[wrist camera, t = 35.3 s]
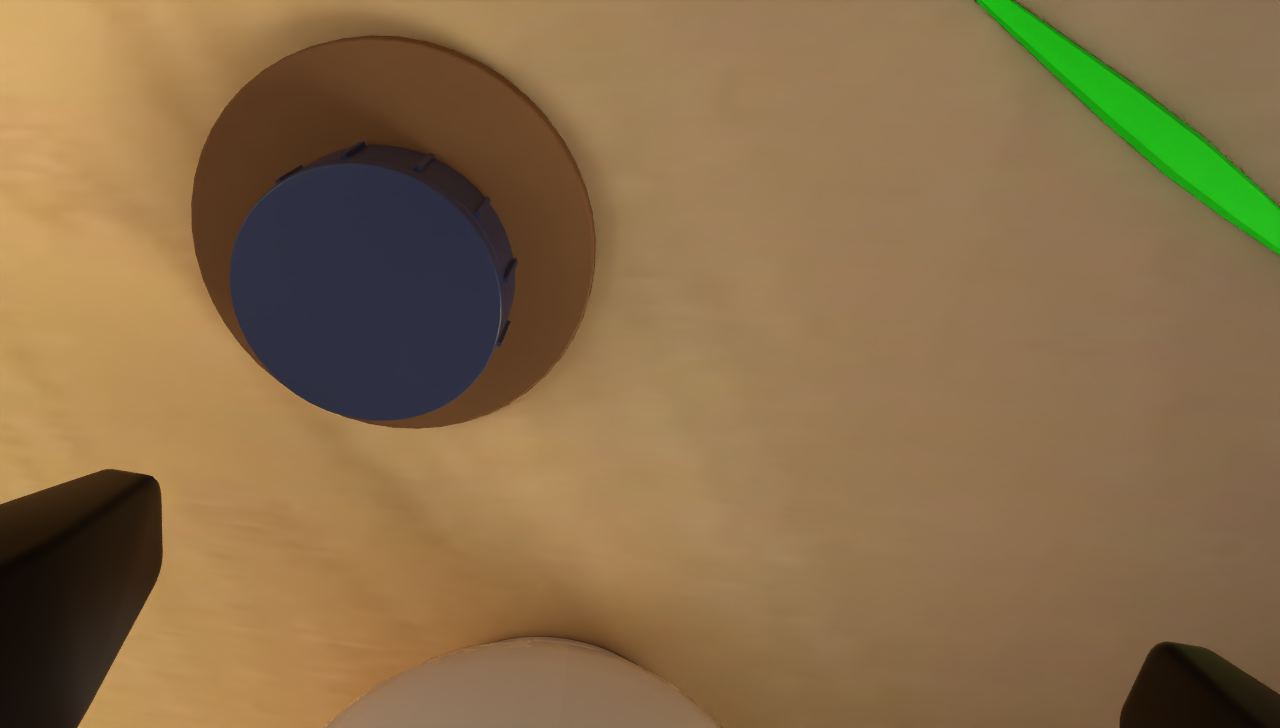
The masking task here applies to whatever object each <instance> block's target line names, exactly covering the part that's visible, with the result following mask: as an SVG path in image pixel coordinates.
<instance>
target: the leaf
mask: <svg viewBox="0 0 1280 728" xmlns="http://www.w3.org/2000/svg"><path fill="white" fill-rule="evenodd" d="M976 1H977V2H978V3H979V4H980V5H981V6H982V7H983V8H984V9H985V10H986V11H987V12H988V13H989V14H990V15H991V16H992V17H993V18H994V19H995V20H996V21H997V22H999V23H1000V24H1001V25H1002V26H1003V27H1004V28H1005V29H1006V30H1007V31H1008V32H1009V33H1010V34H1011V35H1012V36H1013V37H1014V38H1015V39H1016V40H1017V41H1019V42H1020V43H1021V44H1022V45H1023V46H1024V47H1025V48H1026V49H1027V50H1028V51H1029V52H1030V53H1031V54H1032V55H1033V56H1035V57H1036V58H1037V59H1038V60H1039V61H1040V62H1041V63H1042V64H1043V65H1044V66H1045V67H1046V68H1047V69H1048V70H1049V71H1050V72H1052V73H1053V74H1054V75H1055V76H1056V77H1057V78H1058V79H1059V80H1060V81H1061V82H1062V83H1063V84H1064V85H1065V86H1066V87H1068V88H1069V89H1070V90H1071V91H1072V92H1073V93H1074V94H1075V95H1076V96H1077V97H1078V98H1079V99H1080V100H1081V101H1082V102H1083V103H1085V104H1086V105H1087V106H1088V107H1089V108H1090V109H1091V110H1092V111H1093V112H1094V113H1095V114H1096V115H1097V116H1098V117H1099V118H1100V119H1102V120H1103V121H1104V122H1105V123H1106V124H1107V125H1108V126H1110V127H1111V128H1112V129H1113V130H1114V131H1115V132H1116V133H1118V134H1119V135H1120V136H1121V137H1122V138H1123V139H1125V140H1126V141H1127V142H1128V143H1129V144H1130V145H1131V146H1133V147H1134V148H1135V149H1136V150H1137V151H1138V152H1139V153H1141V154H1142V155H1143V156H1144V157H1145V158H1146V159H1148V160H1149V161H1150V162H1151V163H1152V164H1153V165H1154V166H1156V167H1157V168H1158V169H1159V170H1160V171H1161V172H1162V173H1164V174H1165V175H1166V176H1168V177H1169V178H1170V179H1172V180H1173V181H1174V182H1176V183H1177V184H1178V185H1180V186H1181V187H1183V188H1184V189H1185V190H1187V191H1188V192H1189V193H1191V194H1192V195H1193V196H1195V197H1196V198H1197V199H1199V200H1200V201H1202V202H1203V203H1204V204H1206V205H1207V206H1208V207H1210V208H1211V209H1212V210H1214V211H1215V212H1217V213H1218V214H1219V215H1221V216H1222V217H1223V218H1225V219H1226V220H1228V221H1229V222H1231V223H1232V224H1234V225H1235V226H1237V227H1238V228H1240V229H1241V230H1243V231H1244V232H1246V233H1247V234H1249V235H1250V236H1252V237H1253V238H1255V239H1256V240H1258V241H1259V242H1261V243H1262V244H1264V245H1265V246H1267V247H1268V248H1270V249H1271V250H1273V251H1274V252H1276V253H1277V254H1278V255H1280V207H1279V206H1278V205H1277V204H1276V203H1274V202H1273V201H1272V200H1271V199H1270V198H1269V197H1268V196H1267V195H1266V194H1265V193H1264V192H1263V191H1262V190H1261V189H1260V188H1259V187H1258V186H1257V185H1256V184H1255V183H1254V182H1253V181H1252V180H1250V179H1249V178H1248V177H1247V176H1246V175H1245V174H1244V173H1243V172H1242V171H1240V170H1239V169H1238V168H1237V167H1236V166H1235V165H1234V164H1233V163H1231V162H1230V161H1229V160H1228V159H1227V158H1226V157H1225V156H1224V155H1223V154H1221V153H1220V152H1219V151H1218V150H1217V149H1216V148H1215V147H1214V146H1212V145H1211V144H1210V143H1209V142H1208V141H1207V140H1206V139H1205V138H1204V137H1202V136H1201V135H1200V134H1199V133H1197V132H1196V131H1195V130H1194V129H1192V128H1191V127H1190V126H1188V125H1187V124H1186V123H1184V122H1183V121H1182V120H1180V119H1179V118H1178V117H1176V116H1175V115H1174V114H1172V113H1171V112H1170V111H1168V110H1167V109H1166V108H1164V107H1163V106H1162V105H1160V104H1159V103H1158V102H1156V101H1155V100H1154V99H1152V98H1151V97H1150V96H1149V95H1147V94H1146V93H1145V92H1143V91H1142V90H1141V89H1139V88H1138V87H1137V86H1135V85H1134V84H1133V83H1131V82H1130V81H1128V80H1127V79H1125V78H1124V77H1122V76H1121V75H1120V74H1118V73H1117V72H1115V71H1114V70H1112V69H1111V68H1110V67H1108V66H1107V65H1105V64H1104V63H1102V62H1101V61H1099V60H1098V59H1097V58H1095V57H1094V56H1092V55H1091V54H1089V53H1088V52H1087V51H1085V50H1084V49H1082V48H1081V47H1079V46H1078V45H1076V44H1075V43H1074V42H1072V41H1071V40H1069V39H1068V38H1066V37H1065V36H1064V35H1062V34H1061V33H1059V32H1058V31H1056V30H1055V29H1053V28H1052V27H1051V26H1049V25H1048V24H1046V23H1045V22H1043V21H1042V20H1041V19H1039V18H1038V17H1036V16H1035V15H1033V14H1032V13H1030V12H1029V11H1028V10H1026V9H1025V8H1023V7H1022V6H1020V5H1019V4H1017V3H1016V2H1014V1H1013V0H976Z"/></svg>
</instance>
